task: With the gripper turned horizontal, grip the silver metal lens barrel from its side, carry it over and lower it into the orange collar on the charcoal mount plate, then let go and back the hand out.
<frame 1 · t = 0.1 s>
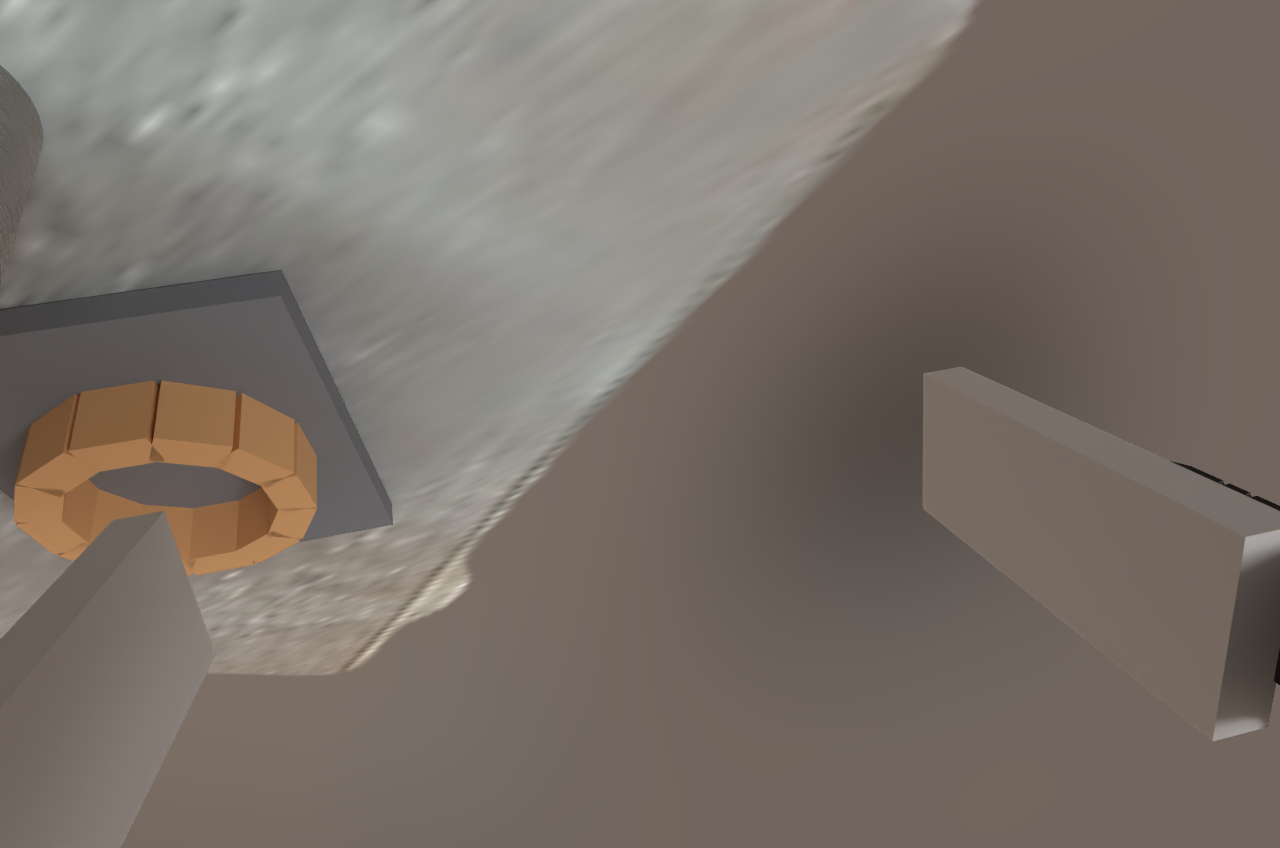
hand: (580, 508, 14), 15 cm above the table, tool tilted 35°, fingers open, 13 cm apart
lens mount: (183, 436, 33), on the table
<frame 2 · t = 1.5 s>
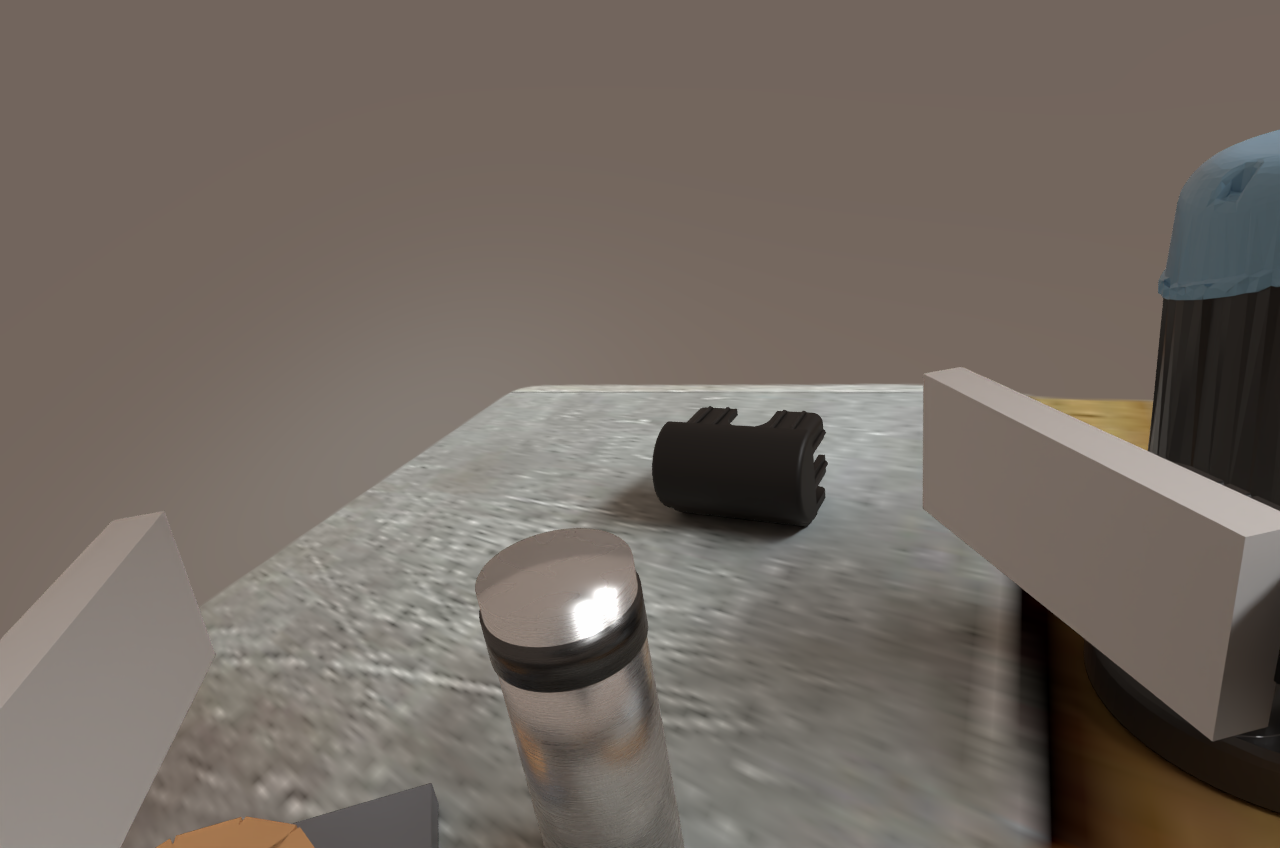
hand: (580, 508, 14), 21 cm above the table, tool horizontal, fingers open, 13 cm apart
end cap: (747, 516, 55), on the table
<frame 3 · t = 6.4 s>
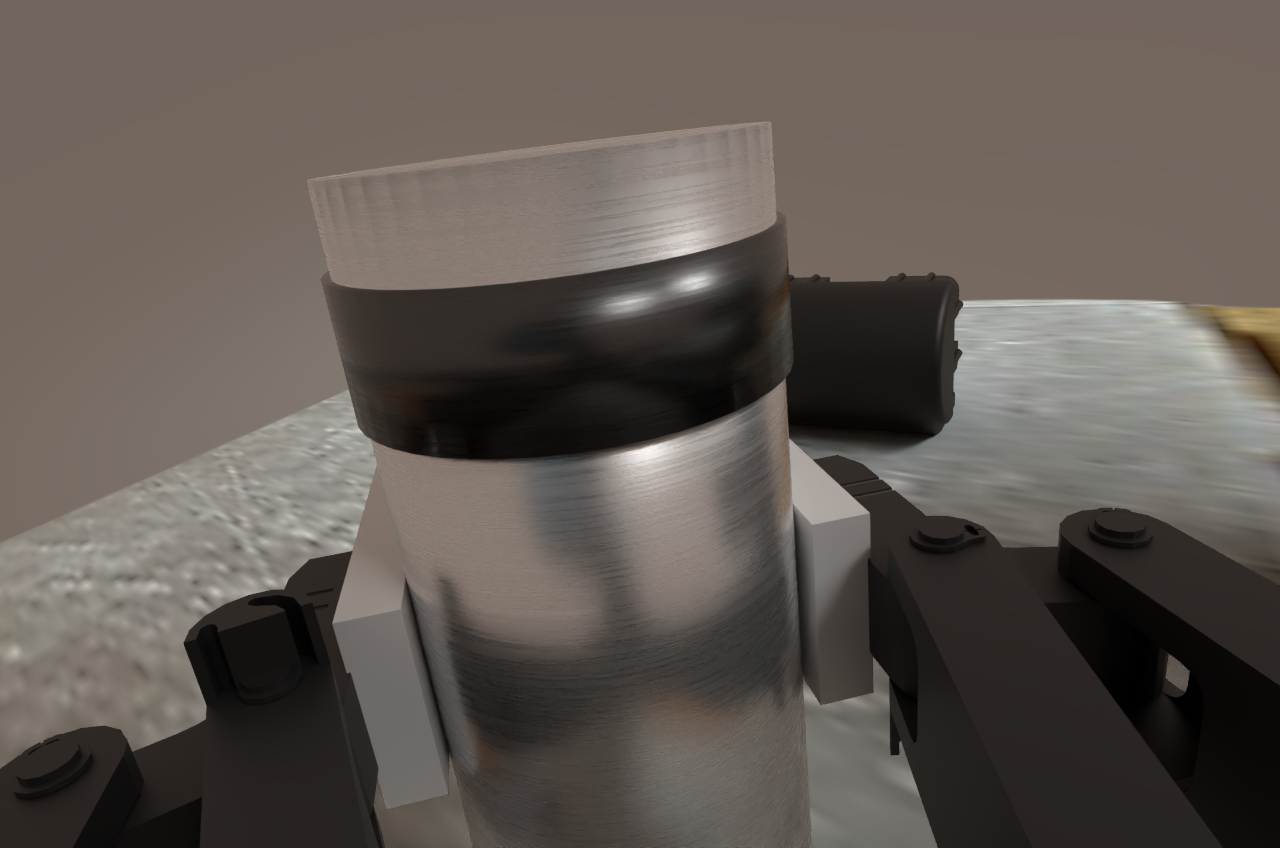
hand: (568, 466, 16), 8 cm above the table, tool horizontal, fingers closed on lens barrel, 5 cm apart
end cap: (842, 426, 38), on the table
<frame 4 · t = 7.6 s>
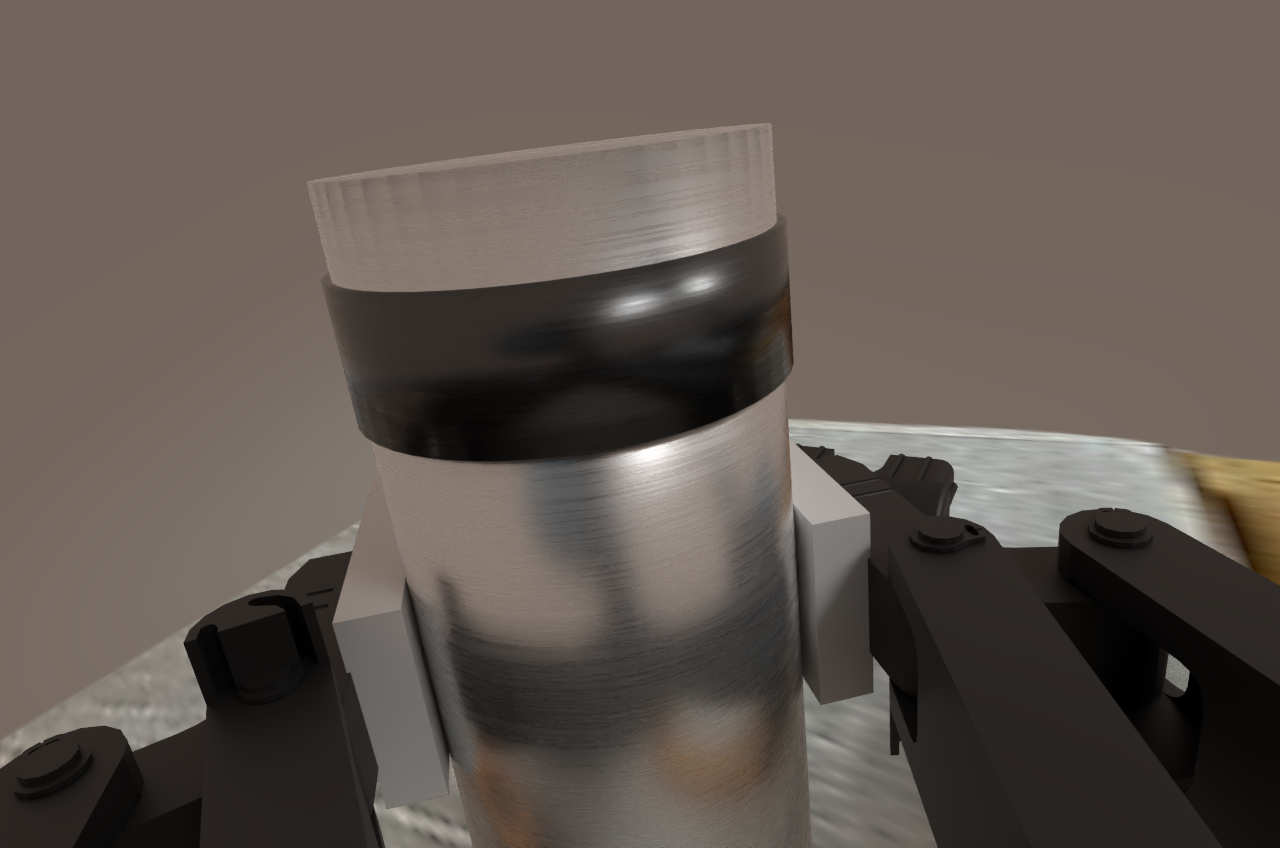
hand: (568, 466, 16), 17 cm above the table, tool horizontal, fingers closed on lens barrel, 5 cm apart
end cap: (844, 592, 41), on the table
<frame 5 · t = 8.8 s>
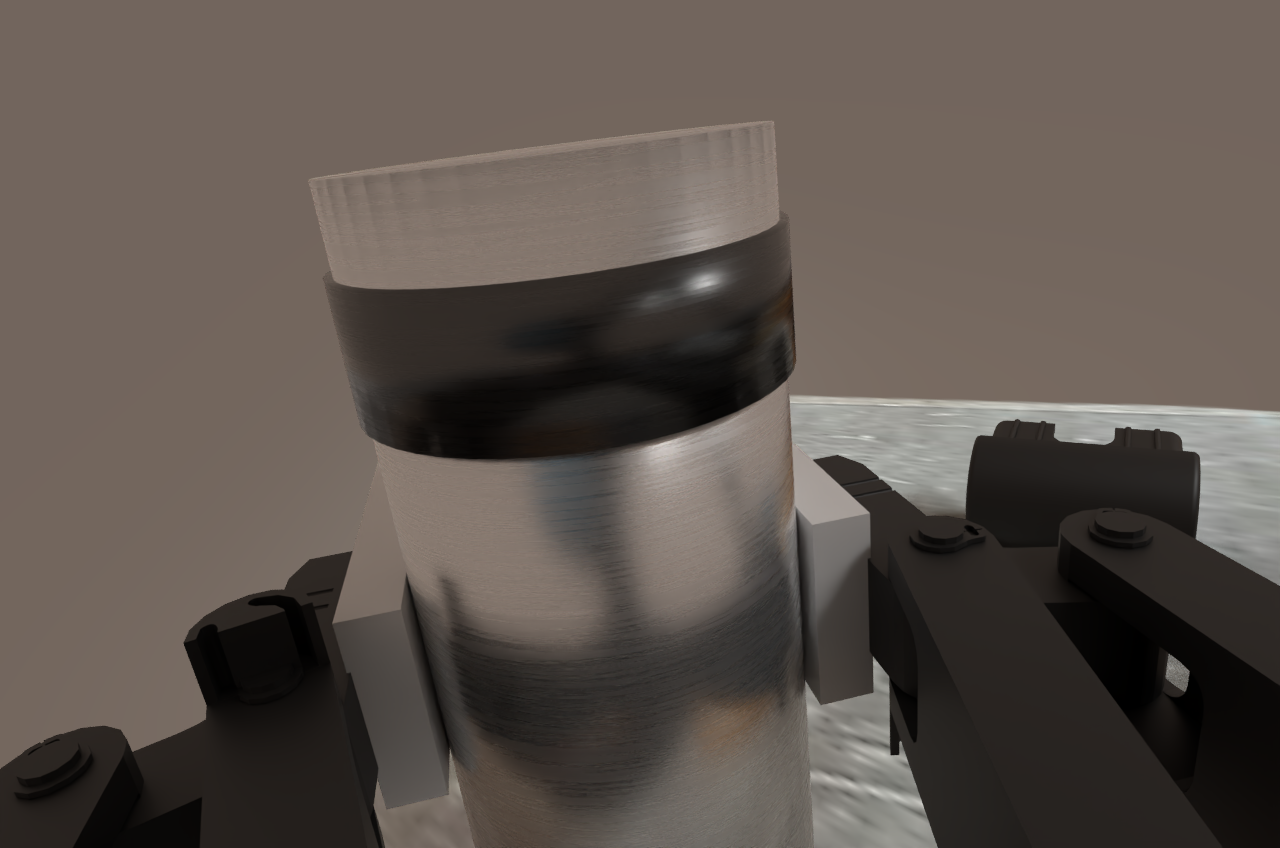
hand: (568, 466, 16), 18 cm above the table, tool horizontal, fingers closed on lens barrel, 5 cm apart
end cap: (1072, 558, 44), on the table
when the fingers open (10 cm above the table, at t = 11.1 s): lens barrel drops 1 cm, resting on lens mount.
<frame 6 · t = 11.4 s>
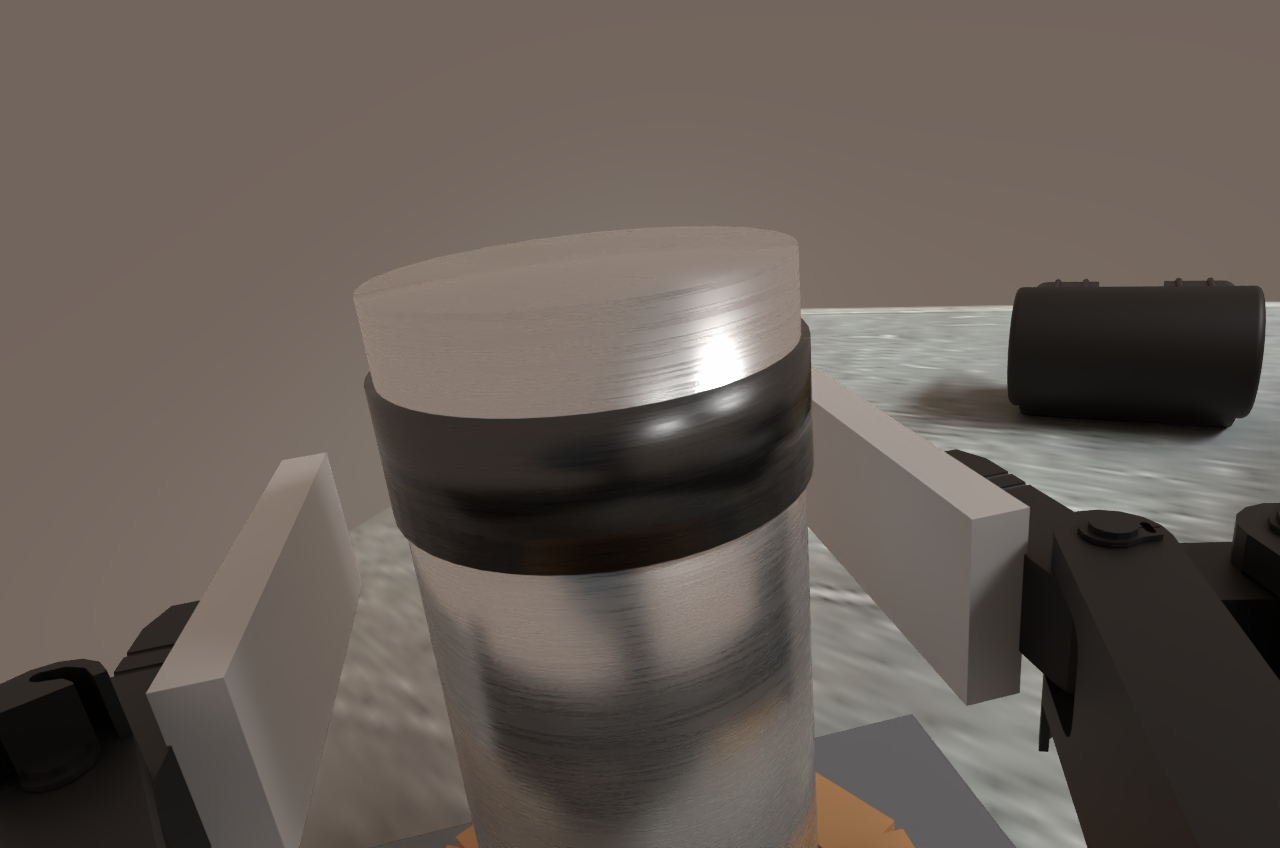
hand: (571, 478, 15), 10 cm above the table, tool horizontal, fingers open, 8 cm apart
end cap: (1119, 420, 41), on the table
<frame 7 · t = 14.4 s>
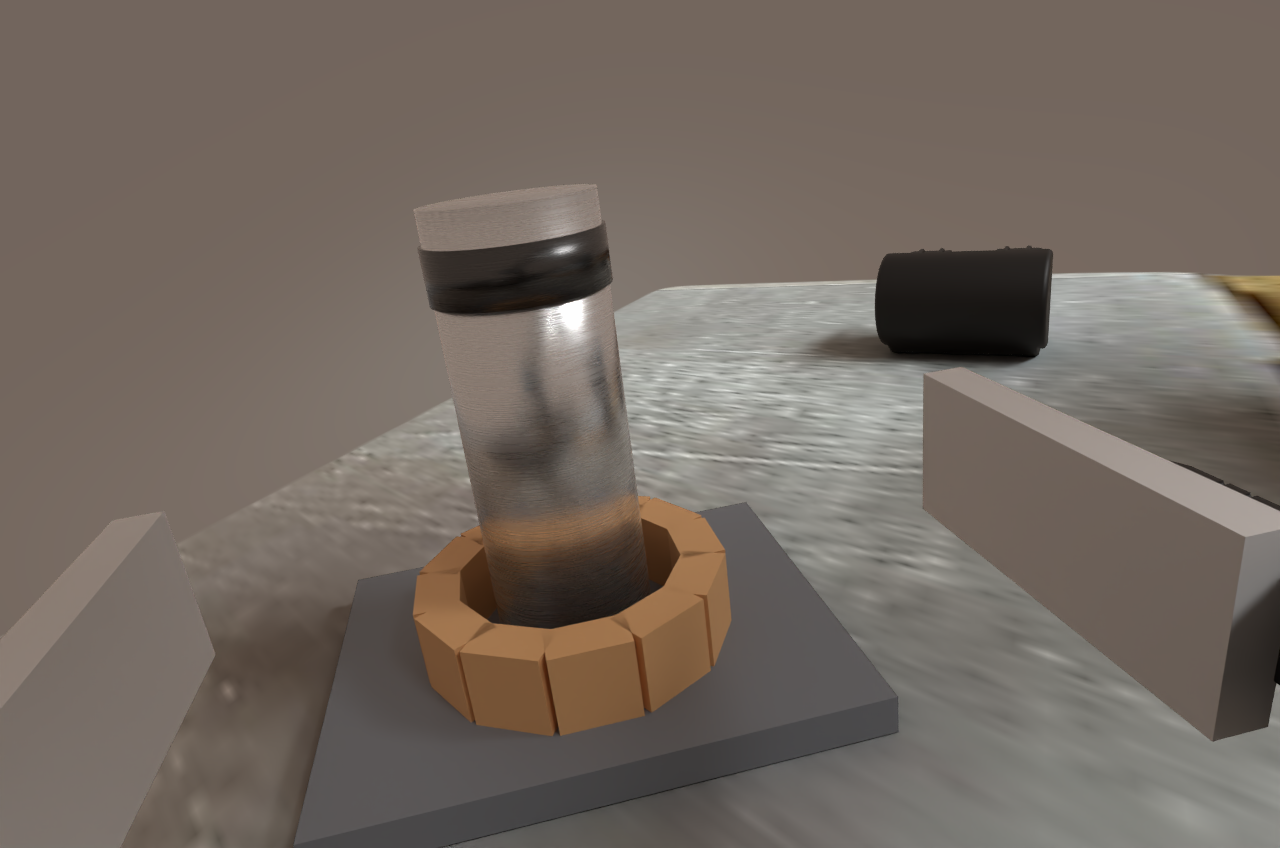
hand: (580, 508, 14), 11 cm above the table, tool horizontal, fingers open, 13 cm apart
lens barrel: (579, 628, 27), point 1 cm above the table, touching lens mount
end cap: (963, 354, 54), on the table
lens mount: (584, 657, 27), on the table
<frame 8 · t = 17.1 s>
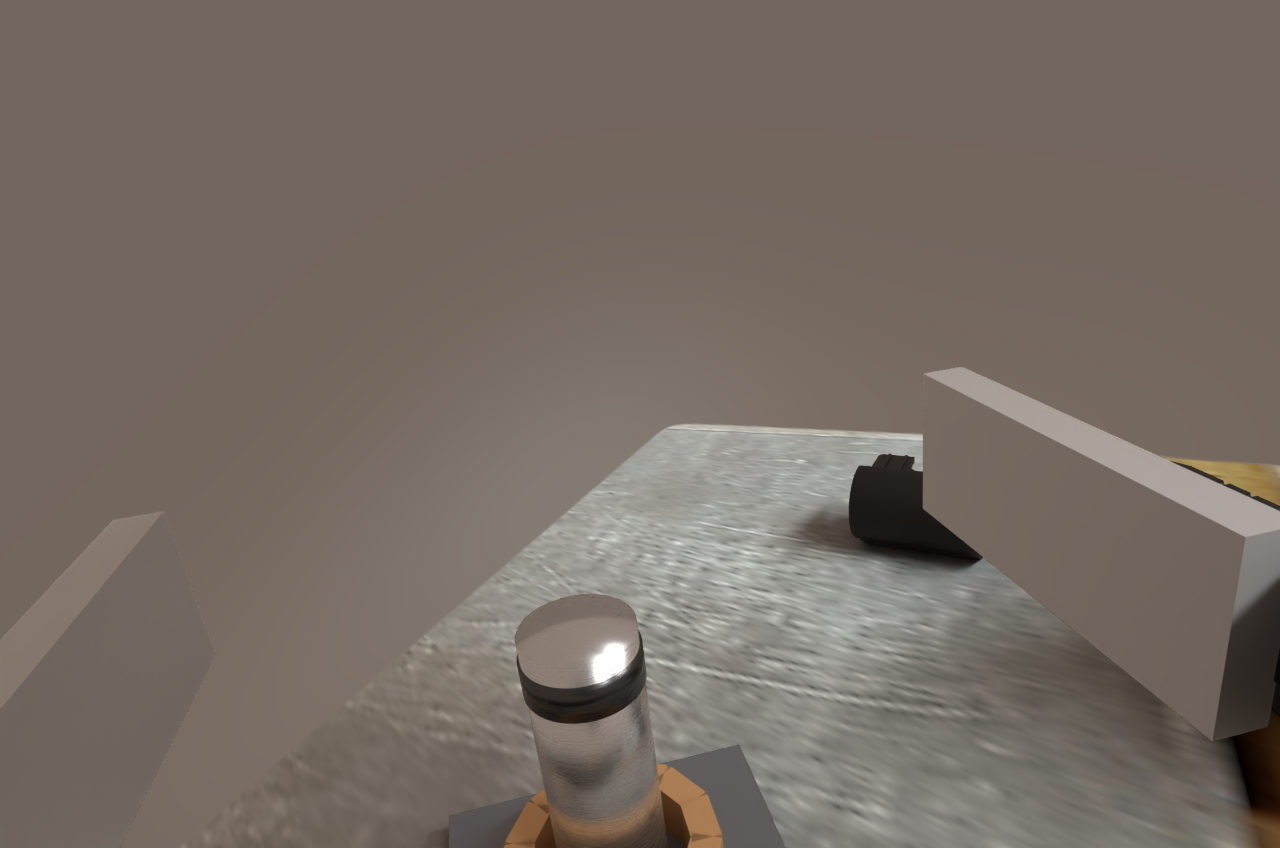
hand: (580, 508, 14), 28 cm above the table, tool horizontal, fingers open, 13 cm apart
end cap: (923, 548, 65), on the table
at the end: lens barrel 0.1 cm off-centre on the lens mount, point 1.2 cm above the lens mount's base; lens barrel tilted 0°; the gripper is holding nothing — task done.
